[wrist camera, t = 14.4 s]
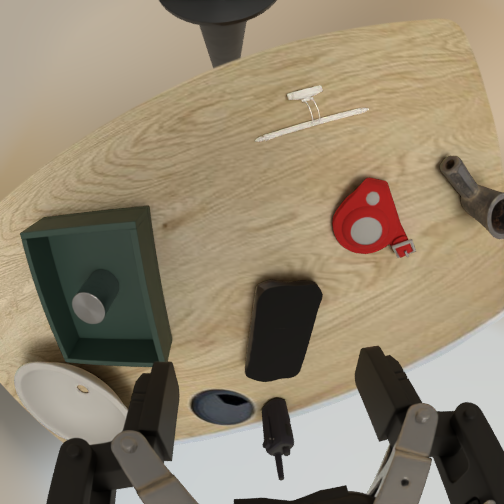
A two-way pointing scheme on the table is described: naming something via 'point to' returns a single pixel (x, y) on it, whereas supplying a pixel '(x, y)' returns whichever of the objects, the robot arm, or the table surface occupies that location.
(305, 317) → the bristle scrub brush
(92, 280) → the metal cylinder
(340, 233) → the tracker holder
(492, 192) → the pipe
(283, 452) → the two-way radio
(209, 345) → the table surface
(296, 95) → the picture light
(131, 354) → the bin
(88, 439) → the soup bowl
